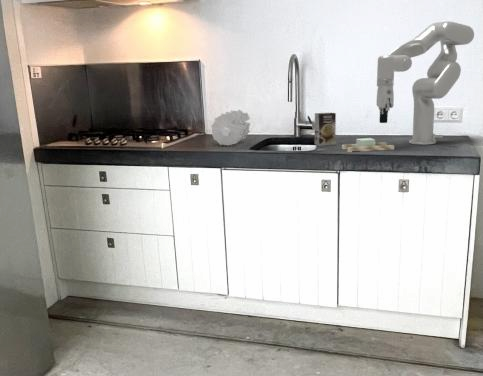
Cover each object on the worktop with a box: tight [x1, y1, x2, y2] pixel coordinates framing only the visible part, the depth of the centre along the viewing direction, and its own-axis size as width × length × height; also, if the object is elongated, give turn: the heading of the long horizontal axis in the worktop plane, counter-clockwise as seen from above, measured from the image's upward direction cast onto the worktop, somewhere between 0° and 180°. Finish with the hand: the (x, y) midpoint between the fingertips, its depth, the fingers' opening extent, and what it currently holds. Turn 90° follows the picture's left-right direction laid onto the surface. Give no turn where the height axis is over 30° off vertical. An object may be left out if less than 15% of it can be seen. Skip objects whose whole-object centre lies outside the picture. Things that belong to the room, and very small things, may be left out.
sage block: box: [355, 137, 376, 147], centre depth 242 cm, size 7×6×5 cm
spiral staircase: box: [210, 109, 251, 146], centre depth 276 cm, size 18×18×25 cm
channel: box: [341, 141, 395, 153], centre depth 242 cm, size 22×10×2 cm, turn 96°
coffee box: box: [314, 112, 337, 147], centre depth 259 cm, size 9×6×16 cm
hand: (383, 122), depth 240 cm, fingers closed
